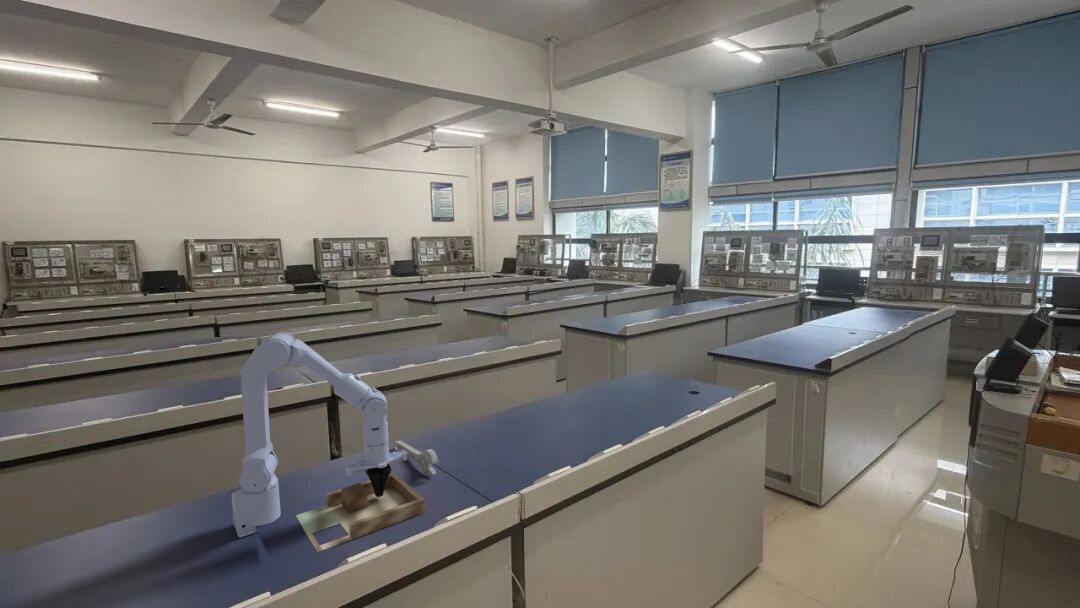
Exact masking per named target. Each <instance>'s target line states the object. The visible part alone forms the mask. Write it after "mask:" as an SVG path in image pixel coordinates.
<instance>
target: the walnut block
mask: <svg viewBox="0 0 1080 608" xmlns="http://www.w3.org/2000/svg"><path fill="white" fill-rule="evenodd" d="M361 483H362V482H358V483H354V484H351V485H348V486H345V487H342V488H340V489H341V491H342V506H343V507H344V509H345V510H346V511H347V512H348V514H350V513H353V512H356V511H359V510H361V509H364V508H367V507H368V502H367V489H366V488H365V487H364V486H363V485H362V484H361Z"/></svg>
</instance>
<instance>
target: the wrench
mask: <svg viewBox="0 0 1080 608" xmlns="http://www.w3.org/2000/svg"><path fill="white" fill-rule="evenodd" d="M393 448H394V450H395V452H399V451H403V450H404V451H405V452H406V453H407V459H410V461H413V462H415V463H417V464H418V466H419V467H420V468H421V470H422V472H423V475H424V477H425V476H427V477H435V476H436V475H437V471H436V469H435V468H434V467H433V465H435V464H438V463H439V459H438V456H437V453H436V452H435V450H434V449H432V448H430V449H425V450H424V451H423V452H421V451H420V450H418V449H416V448H415V447H413V446H411V445H409V444H407V443H405V442H404V441H402V440H401V439H400V440H396V441H394V442H393Z"/></svg>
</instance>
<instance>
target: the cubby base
mask: <svg viewBox="0 0 1080 608" xmlns="http://www.w3.org/2000/svg"><path fill="white" fill-rule="evenodd" d="M360 483H361V484H362V485H363V486H364V487H365V488H366V489H367V502H368V507H367V508H364V509H361V510H359V511H356V512H353V513H350V514H348V512H347V511H346V510H345V509H344V507H343V506H342V491H341V488H340V489H337V490H334V491H331V492H328V493H326V505H324V506H321V507H318V508H315V509H312V510H308V511H305V512H302V513H299V514H296V515H295V517H296V518H297V521H298V522H299V524H300V525H301V528H303V529H302V530H304V532H305V534H306V537H308V539H309V541H310V543H311V544H312V546H313V547H314V549H315V551H316V552H317V553H319V552H322V551H324V550H327V549H330V548H332V547H334V546H338V545H340V544H343V543H346V542H349V541H351V540H354V539H357V538H359V537H361V536H365V535H367V534H369V533H372V532H373V533H374V532H376V531H378V530H381V529H383V528H386V527H390V526H391V525H394V524H398V523H400V522H402V521H403V522H404V521H405V520H407V519H411V518H413V517H416V516H419V515H422V514H424V513H426V499H425V497H423V496H422V495H420V494H419V493H418V492H417V491H416V490H415V489H413V488H412V487H411V486H410V485H409V484H408V483H407V482H406V481H404V480H403V479H402V478H401V477H400V476H399V475H397V474H396V473H395V472H391V473H390V474H389V476H388V479H387V481H386V484H385V488H384V493H383V496H380V497H377V496H376V495H375V493H374V489H373V486H372V483H371V481H370V479H369V480H366V481H364V482H360ZM339 524H340V526H342V528H343V529H344V530H345V532H346V533H347V535H344V536H342V537H340V538H336V539H333V540H332V541H329V542H326V543H323V544H319V542H318V541H317V539H316V537H315V535H314V533H316V532H320V531H322V530H325V529H328V528H331V527H333V526H336V525H339Z"/></svg>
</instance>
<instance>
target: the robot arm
mask: <svg viewBox="0 0 1080 608" xmlns="http://www.w3.org/2000/svg"><path fill="white" fill-rule="evenodd" d="M288 362H289V364H288V367H304V368H306V369H308V370H309V371H310V372H313V373H314V374H315V375H317V376H319V377H320V378H322V379H323V380H324V381H326V382H328V383H329V384H331V385H332V386H333V392H334V394H335V395H337V396H338V397H340V398H341V399H342V400H344V401H345V402H347V403H348V404H350V405H351V406H352V407H354V408H355V409H358V410H360V413H361V415H362V417H363V425H362V433H363V449H364V450H363V451H364V458H362V459H361V460H359V461H356V462H354V463H352V464H349V465H346V466H345V474H346V476H347V477H353V476H354V475H356V474H359V473H362V472H365V473H366V475H367V477H368V478H369V480H370V481H371V483H372V486H373V489H374V493H375V495H376V496H377V497H380V496H383V493H384V488H385V484H386V481H387V479H388V476H389V474H392V467H391V465H390V464H393V463H397V462H400V461H404V462H405V461H408V457H407V453H406V452H405V451H404V450H403V451H399V452H397V451H393V452H390V445H389V444H390V443H389V442H390V441H389V426H388V425H389V423H388V421H387V420H388V415H387V413H388V412H389V411H388V410H389V408H388V403H387V402H388V401H387V398H386V395H384V394H383V392H382V391H381V390H377V388H375V386H374V387H370V386H369V385H368V384H367V383H365V382H364V381H362V379H361V377H362V376H360V375H359V374H357V373H356V374H355V375H354V374H353V373H350V372H348V373H343V372H341V371H340V370H338V369H337V368H336V367H335V366H334V365H332V363H330V362H329V361H327V360H326V359H325V358H324V357H323V356H321V355H320V354H319V353H317V352H316V351H315V350H314V349H312V348H311V347H310V346H309V345H308V344H306V343H305V342H303V341H302V340H300V339H299V338H295V336H293V335H292V334H291V333H289V332H285V331H278V332H276V333H275V332H274V333H273V334H271V335H270V336H269V337H268V338H266V339H265V340H263V341H262V342H261V343H260V345H259V344H258V346H257V347H255V348H254V350H253V351H252V353H251V354H250V356H249V357H248V359H247V360H246V362H245V363H244V365H243V366H242V368H241V369H240V383H241V384H240V386H241V400H242V416H243V417H242V418H243V428H244V429H243V431H244V444H245V445H244V446H245V449H244V453H243V454H244V455H243V460H242V470H241V473H240V474H239V478H238V484H239V486H240V487H241V488H240V489H239V490H237V491H234V492H232V493H231V505H232V524H233V526H234V528H235V529H234V530H235V531H236V535H237V537H238V538H243V537H246V536H249V535H252V534H256V533H258V532H259V530H258V528H257V527H260V526H265V525H268V524H270V523H273V522H274V521H277V520H278V519H279V517H281V514H282V513H281V501H280V487H279V479H278V477H277V476H276V474H275V471H276V469H277V468H278V465H279V459H278V455H276V453H275V452H274V445H273V443H272V442H271V433H270V432H271V431H270V430H271V429H270V415H269V413H270V412H269V397H268V384H267V383H268V382H267V376H268V375H269V374H270V373H271V372H272V371H273V370H275V369H276V368H279V367H281V366H283V365H285V364H286V363H288Z"/></svg>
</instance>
